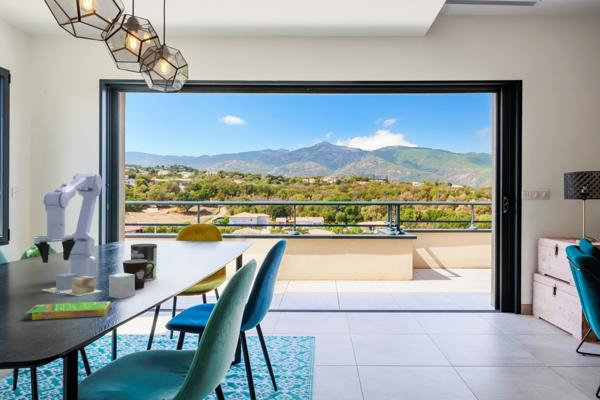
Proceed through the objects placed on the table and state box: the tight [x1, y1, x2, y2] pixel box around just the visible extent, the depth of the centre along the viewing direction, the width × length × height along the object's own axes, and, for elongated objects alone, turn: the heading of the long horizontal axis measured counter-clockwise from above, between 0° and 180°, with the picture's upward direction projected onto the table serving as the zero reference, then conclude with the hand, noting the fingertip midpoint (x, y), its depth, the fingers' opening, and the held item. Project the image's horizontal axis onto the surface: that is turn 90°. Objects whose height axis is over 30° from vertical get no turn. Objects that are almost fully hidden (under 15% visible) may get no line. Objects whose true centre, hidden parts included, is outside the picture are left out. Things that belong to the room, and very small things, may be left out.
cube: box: [55, 272, 77, 290], centre depth 154 cm, size 5×5×5 cm
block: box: [72, 276, 95, 294], centre depth 149 cm, size 5×5×5 cm
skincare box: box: [108, 272, 136, 299], centre depth 144 cm, size 6×6×7 cm
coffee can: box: [130, 243, 158, 282], centre depth 174 cm, size 10×10×14 cm
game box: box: [25, 301, 112, 321], centre depth 123 cm, size 3×10×20 cm
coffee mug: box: [122, 259, 154, 291], centre depth 158 cm, size 12×9×10 cm
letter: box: [42, 286, 72, 294], centre depth 154 cm, size 13×10×1 cm
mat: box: [64, 288, 104, 297], centre depth 148 cm, size 9×9×1 cm
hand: (55, 261), depth 155 cm, fingers open, 7 cm apart
